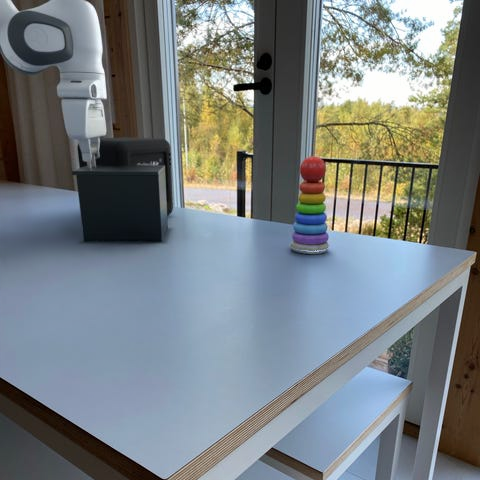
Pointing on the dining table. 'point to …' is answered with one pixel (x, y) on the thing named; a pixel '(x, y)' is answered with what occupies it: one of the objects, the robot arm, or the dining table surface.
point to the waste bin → (123, 207)
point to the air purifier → (136, 157)
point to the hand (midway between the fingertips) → (91, 160)
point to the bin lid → (118, 168)
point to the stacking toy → (311, 209)
